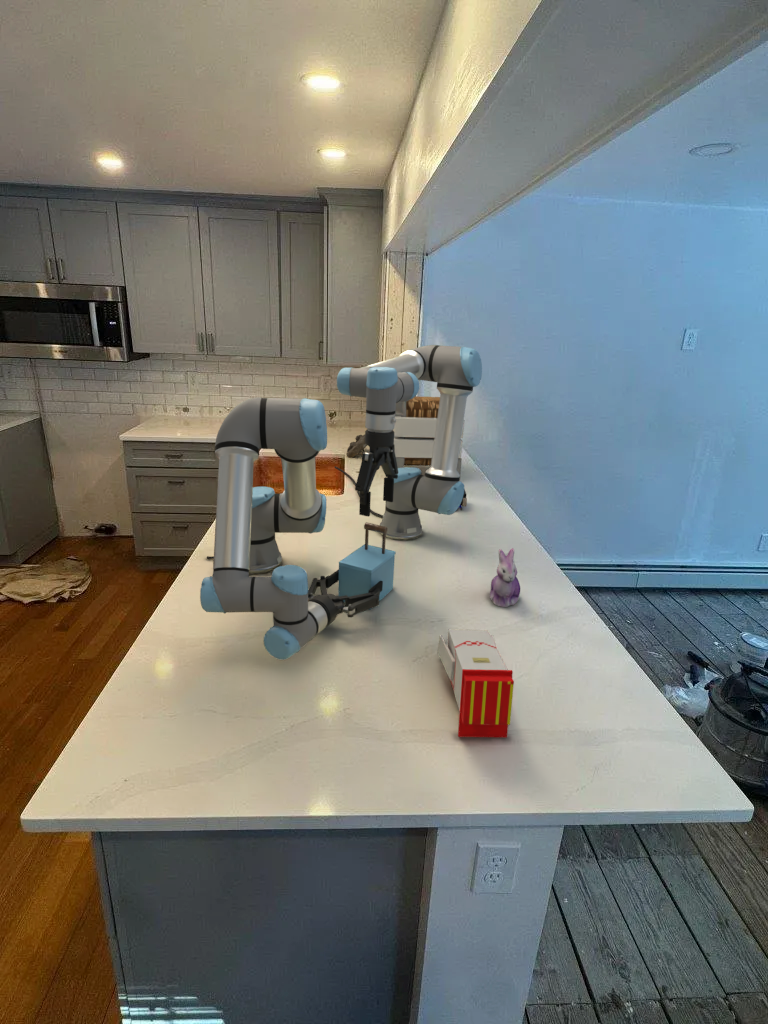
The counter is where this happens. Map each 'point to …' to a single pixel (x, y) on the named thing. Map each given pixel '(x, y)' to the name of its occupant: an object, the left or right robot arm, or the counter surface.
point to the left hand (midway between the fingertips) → (360, 579)
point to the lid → (369, 552)
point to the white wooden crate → (417, 432)
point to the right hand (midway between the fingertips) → (376, 508)
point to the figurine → (505, 581)
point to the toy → (478, 682)
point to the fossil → (356, 446)
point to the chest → (366, 580)
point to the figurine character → (463, 501)
